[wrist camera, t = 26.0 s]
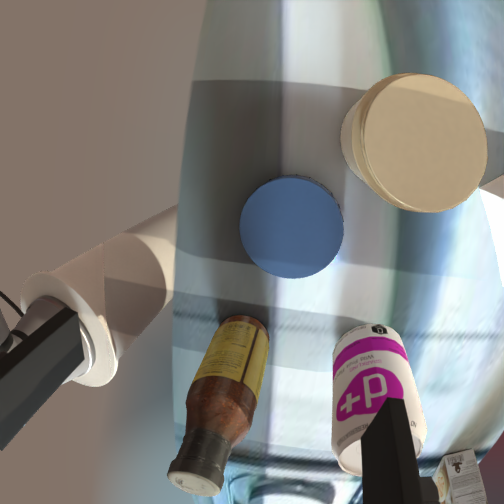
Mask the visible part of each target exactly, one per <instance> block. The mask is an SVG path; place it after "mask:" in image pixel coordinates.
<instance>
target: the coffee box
mask: <svg viewBox="0 0 504 504" xmlns="http://www.w3.org/2000/svg"><path fill="white" fill-rule="evenodd" d="M432 479H433V481H434V482H435V484H436V486H437V487H438V493H439V498H440V500H439V502H440V504H488V502H487V498H486V494H485V489H484V486H483V482H482V478H481V474H480V471H479V467H478V464H477V460H476V457H475V454H474V451H473V449H469V450H466V451H462V452H458V453H454V454H450V455H445V456H443V458H442V460H441V462H440V464H439V466H438V468H437V469H436V471H435V473H434V475H433V477H432Z"/></svg>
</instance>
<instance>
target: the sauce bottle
mask: <svg viewBox="0 0 504 504" xmlns="http://www.w3.org/2000/svg"><path fill="white" fill-rule="evenodd" d="M268 351H269V334H268V332H267V330H266V329H265V327H264V326H263V325H262V324H261V323H260V322H259V321H258V320H257V319H255V318H252V317H249V316H244V315H235V316H231V317H229V318H227V319H226V320H225V321H223V322H222V323H221V324H220V326H219V328H218V329H217V331H216V332H215V334H214V336H213V338H212V341H211V343H210V345H209V347H208V349H207V352H206V354H205V356H204V358H203V360H202V363H201V365H200V367H199V369H198V371H197V373H196V375H195V378H194V380H193V382H192V384H191V386H190V389H189V391H188V395H187V399H186V408H187V419H186V432H185V436H184V438H183V443H182V445H181V448H180V450H179V452H178V455H177V457H176V459H174V460H173V461H172V462H171V464H170V467H169V470H168V473H167V476H168V479H169V480H170V482H172V483H173V484H174V485H175V486H176V487H178V488H179V489H181V490H183V491H185V492H188V493H191V494H195V495H200V496H209V497H211V496H215V495H218V494H219V493H220V491H221V489H222V486H223V483H224V475H223V473H224V470H225V466H226V463H227V459H228V457H229V455H230V453H231V449H232V448H233V447H234V446H236V445H237V444H239V443H240V442H241V441H242V440H243V439H244V438H245V436H246V434H247V433H248V431H249V430H250V427H251V425H252V419H253V415H254V411H255V409H256V407H257V403H258V398H259V394H260V389H261V385H262V380H263V376H264V371H265V366H266V361H267V356H268Z"/></svg>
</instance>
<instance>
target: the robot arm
mask: <svg viewBox="0 0 504 504" xmlns="http://www.w3.org/2000/svg"><path fill="white" fill-rule="evenodd" d="M0 296H1V297H2V298H3V299H4V300H5V301H6V302H7V303H8V304H9V305H10V306H11V307H13V309H15V310H16V312H17V313H18V314H19V315H20V316H21V317H22V318H21V320H20V321H19V322H18V324H17V325H16V327H15V328H14V329H13V330H12V331H11V332H10V330H9V328H8V326H7V323H6V321H5V319H4V317H3V314H2V312H1V310H0V450H1V451H2V450H3V449H4V448H5V447H6V446H7V444H8V443H9V442H10V441H11V440H12V439H13V438H14V436H15V435H16V434H17V433H18V432H19V431H20V429H21V428H22V427H23V426H24V425H25V424H26V423H27V422H28V421H29V419H30V418H31V417H32V416H33V415H34V414H35V413H36V412H37V410H38V409H39V408H40V407H41V406H42V405H43V404H44V403H45V402H46V401H47V399H48V398H49V397H50V396H51V395H52V394H53V393H54V392H55V391H56V390H57V389H58V387H59V386H60V385H62V384H64V383H66V382H68V381H70V380H72V379H74V378H76V377H80V376H82V375H84V374H86V373H87V372H88V371H89V370H90V369H91V368H92V366H93V365H94V363H95V360H96V351H95V347H94V343H93V340H92V338H91V336H90V334H89V332H88V330H87V328H86V327H85V325H84V323H83V322H82V321H81V319H80V318H79V317H78V312H76V311H74V310H72V309H71V308H70V307H69V306H67V305H66V304H65V303H64V302H62V301H61V300H59V299H57V298H55V297H52V296H48V295H44V296H40V297H39V298H37V299H36V300H34V301H33V302H32V303H31V304H30V305H29V307H28V308H27V310H26V313H25V314H24V313H23V312H22V311H21V310H20V309H19V308H18V307H17V306H16V305H15V304H14V303H13V302H12V301H11V300H10V299H9V298H8V297H7V296H6V295H5V294H3V293H2V292H1V291H0ZM360 439H361V457H362V484H363V504H440V502H439V500H440V498H439V493H438V487H437V486H436V484H435V482H434V481H433V479H432V477H420V476H419V470H418V464H417V459H416V453H415V448H414V443H413V438H412V433H411V428H410V424H409V419H408V415H407V410H406V406H405V402H404V399H400V398H392V397H387V398H386V400H385V401H384V403H383V405H382V406H381V408H380V409H379V411H378V412H377V414H376V416H375V417H374V419H373V420H372V422H371V423H370V425H369V426H368V428H367V429H366V431H365V432H364V433H363V435H362V436H361V438H360Z"/></svg>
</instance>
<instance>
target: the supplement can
mask: <svg viewBox="0 0 504 504" xmlns="http://www.w3.org/2000/svg"><path fill="white" fill-rule="evenodd" d="M387 397H392V398H400V399H404V402H405V406H406V410H407V415H408V419H409V424H410V428H411V433H412V438H413V443H414V448H415V453H416V459H417V458H418V457H419V455H420V454H421V451H422V448H423V443H424V440H425V437H426V433H427V427H426V423H425V419H424V415H423V411H422V407H421V403H420V399H419V396H418V392H417V388H416V385H415V381H414V378H413V375H412V371H411V368H410V365H409V361H408V358H407V355H406V352H405V349H404V346H403V343H402V340H401V338H400V335H399V334H398V333H396V332H395V331H394V330H393V329H392V328H390V327H387V326H384V325H382V324H365V325H362V326H358V327H355V328H353V329H352V330H350V331H348V332H347V333H345V334H344V335H343V336H342V337H341V338H340V339H339V341H338V342H337V343H336V345H335V348H334V351H333V405H332V439H331V446H332V453H333V455H334V456H335V457H336V459H337V460H338V462H339V466H340V467H341V468H342V470H343V471H345V472H347V473H349V474H351V475H354V476H360V477H362V457H361V439H360V438H361V436H362V435H363V433H364V432H365V431H366V429H367V428H368V426H369V425H370V423H371V422H372V420H373V419H374V417H375V416H376V414H377V412H378V411H379V409H380V408H381V406H382V405H383V403H384V401H385V400H386V398H387Z"/></svg>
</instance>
